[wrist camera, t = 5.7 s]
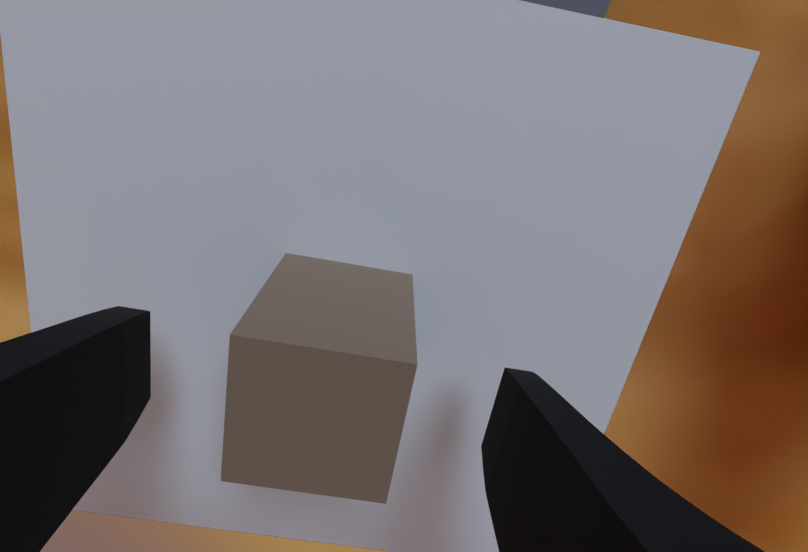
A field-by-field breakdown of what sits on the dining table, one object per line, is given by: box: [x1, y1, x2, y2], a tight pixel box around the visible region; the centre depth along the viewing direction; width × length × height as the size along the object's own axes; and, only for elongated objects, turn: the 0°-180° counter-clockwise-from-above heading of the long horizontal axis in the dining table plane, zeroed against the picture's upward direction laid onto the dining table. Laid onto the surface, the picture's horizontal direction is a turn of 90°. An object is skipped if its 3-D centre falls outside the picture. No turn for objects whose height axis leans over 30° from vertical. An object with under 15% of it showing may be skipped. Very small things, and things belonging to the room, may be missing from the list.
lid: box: [0, 0, 760, 552], centre depth 10 cm, size 15×15×5 cm
